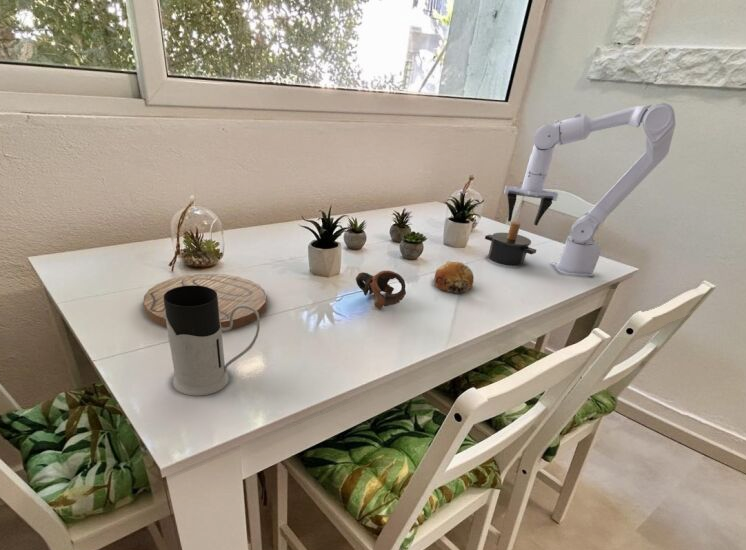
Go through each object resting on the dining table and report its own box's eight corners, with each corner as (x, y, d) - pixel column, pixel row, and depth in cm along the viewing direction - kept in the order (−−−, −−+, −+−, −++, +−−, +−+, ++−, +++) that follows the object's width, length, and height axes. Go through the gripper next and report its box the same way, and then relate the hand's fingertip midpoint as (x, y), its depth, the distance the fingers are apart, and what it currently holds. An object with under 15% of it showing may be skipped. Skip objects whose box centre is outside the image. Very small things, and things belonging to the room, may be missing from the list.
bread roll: (470, 299, 121) (479, 269, 120) (466, 296, 112) (476, 263, 110) (434, 290, 124) (443, 261, 123) (427, 286, 115) (436, 254, 113)
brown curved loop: (403, 296, 112) (413, 275, 104) (391, 326, 107) (402, 306, 100) (357, 277, 111) (365, 254, 104) (344, 306, 107) (351, 284, 100)
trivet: (225, 343, 86) (224, 334, 85) (116, 314, 92) (114, 305, 91) (286, 295, 106) (286, 287, 104) (193, 273, 112) (192, 266, 110)
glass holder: (179, 365, 79) (166, 282, 70) (263, 366, 81) (260, 286, 72) (167, 395, 72) (151, 307, 63) (260, 396, 74) (256, 311, 65)
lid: (504, 234, 142) (509, 215, 138) (537, 244, 135) (543, 225, 132) (483, 239, 135) (488, 220, 132) (517, 250, 129) (523, 231, 125)
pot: (492, 250, 146) (497, 230, 142) (537, 266, 137) (544, 245, 133) (473, 256, 140) (478, 235, 136) (519, 273, 131) (526, 251, 127)
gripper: (510, 172, 127) (497, 222, 134) (565, 179, 125) (549, 229, 132) (509, 168, 132) (497, 216, 140) (561, 174, 130) (546, 223, 138)
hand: (522, 222), depth 137 cm, fingers open, 7 cm apart
